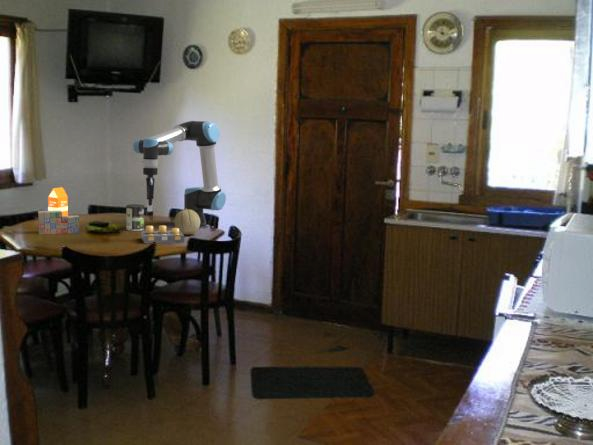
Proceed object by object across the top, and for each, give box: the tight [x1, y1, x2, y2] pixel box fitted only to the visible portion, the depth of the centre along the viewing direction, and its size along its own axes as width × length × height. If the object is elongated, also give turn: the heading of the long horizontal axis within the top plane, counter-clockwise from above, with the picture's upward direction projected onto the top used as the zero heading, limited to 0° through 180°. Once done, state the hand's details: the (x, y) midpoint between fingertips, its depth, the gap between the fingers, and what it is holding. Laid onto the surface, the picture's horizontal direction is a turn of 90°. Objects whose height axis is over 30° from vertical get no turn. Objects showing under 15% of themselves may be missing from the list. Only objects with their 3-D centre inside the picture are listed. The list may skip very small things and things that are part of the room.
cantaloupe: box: [174, 208, 201, 236], centre depth 405 cm, size 15×15×15 cm
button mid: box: [158, 224, 167, 234], centre depth 385 cm, size 4×4×5 cm
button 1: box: [145, 225, 154, 234], centre depth 383 cm, size 4×4×5 cm
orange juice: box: [47, 187, 69, 216], centre depth 434 cm, size 8×9×20 cm
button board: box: [140, 230, 185, 244], centre depth 386 cm, size 21×14×4 cm
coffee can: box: [125, 204, 145, 232], centre depth 415 cm, size 10×10×14 cm
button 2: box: [171, 227, 179, 234], centre depth 388 cm, size 4×4×5 cm
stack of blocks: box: [37, 210, 80, 235], centre depth 395 cm, size 21×6×12 cm, turn 110°
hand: (149, 211), depth 381 cm, fingers closed
